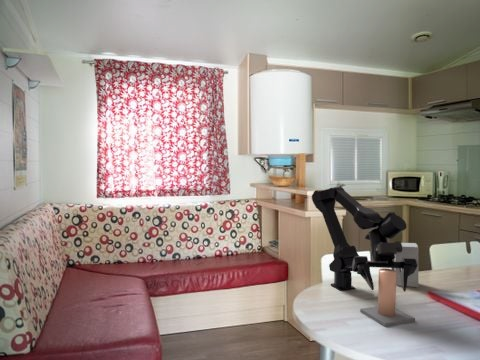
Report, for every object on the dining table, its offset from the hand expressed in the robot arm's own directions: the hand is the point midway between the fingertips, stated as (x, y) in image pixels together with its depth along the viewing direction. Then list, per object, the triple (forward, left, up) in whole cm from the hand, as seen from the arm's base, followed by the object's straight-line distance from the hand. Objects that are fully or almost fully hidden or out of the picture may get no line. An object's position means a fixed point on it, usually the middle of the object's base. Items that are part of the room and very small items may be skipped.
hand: (388, 290), depth 110 cm
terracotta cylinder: (-1, +1, -8) cm, 8 cm away
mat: (-1, +1, -9) cm, 9 cm away
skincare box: (-23, +29, -9) cm, 38 cm away
